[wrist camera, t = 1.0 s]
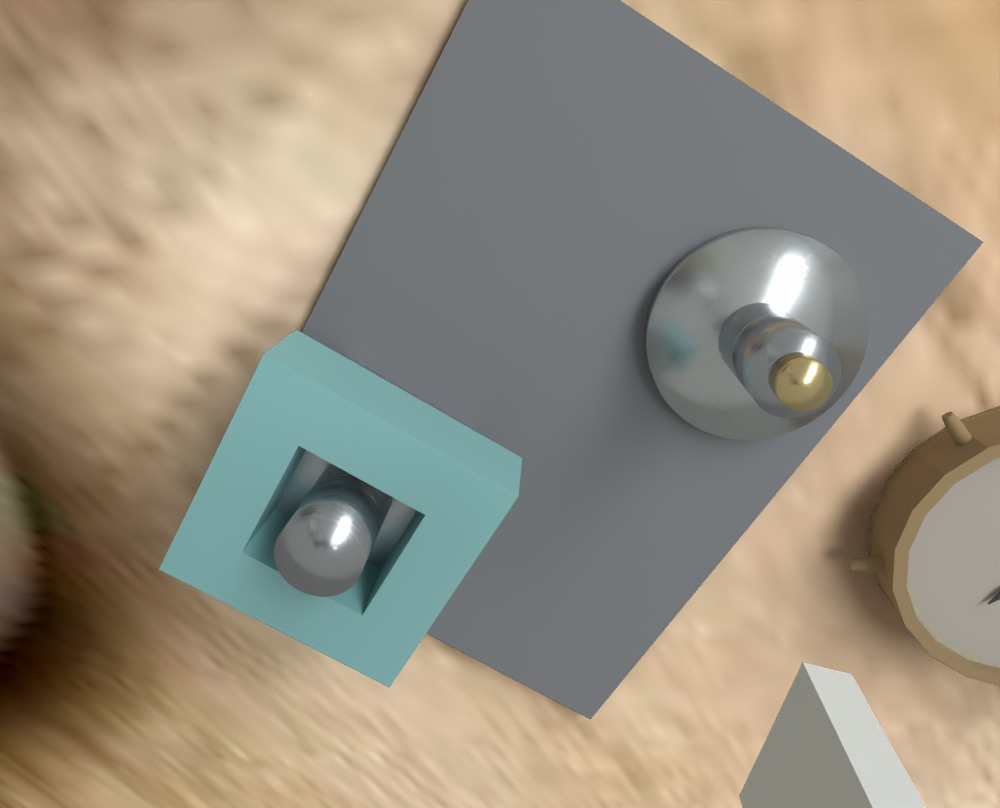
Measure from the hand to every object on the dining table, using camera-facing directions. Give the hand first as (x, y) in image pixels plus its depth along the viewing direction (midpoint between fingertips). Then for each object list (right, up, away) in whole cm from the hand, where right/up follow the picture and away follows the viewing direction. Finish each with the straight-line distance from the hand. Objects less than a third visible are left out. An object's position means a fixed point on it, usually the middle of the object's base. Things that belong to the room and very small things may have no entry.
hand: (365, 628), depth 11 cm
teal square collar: (-3, 0, +16) cm, 16 cm away
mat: (+4, +4, +19) cm, 20 cm away
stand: (-3, +2, +19) cm, 20 cm away
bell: (+12, +6, +17) cm, 21 cm away
